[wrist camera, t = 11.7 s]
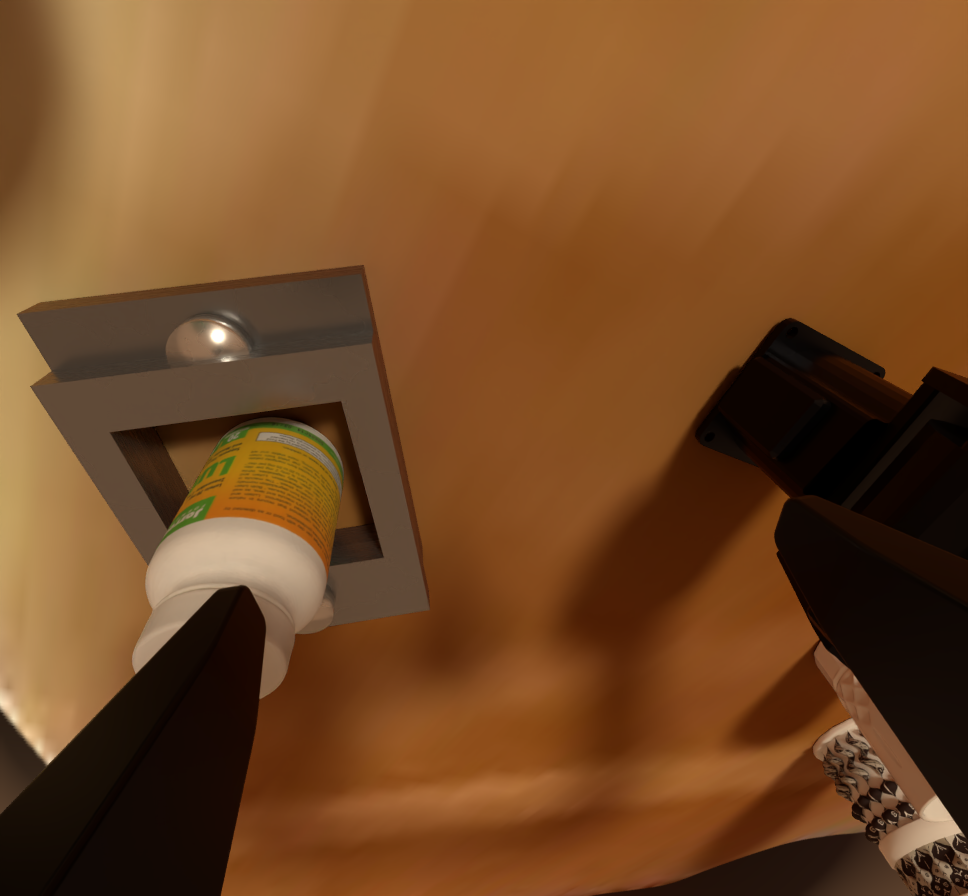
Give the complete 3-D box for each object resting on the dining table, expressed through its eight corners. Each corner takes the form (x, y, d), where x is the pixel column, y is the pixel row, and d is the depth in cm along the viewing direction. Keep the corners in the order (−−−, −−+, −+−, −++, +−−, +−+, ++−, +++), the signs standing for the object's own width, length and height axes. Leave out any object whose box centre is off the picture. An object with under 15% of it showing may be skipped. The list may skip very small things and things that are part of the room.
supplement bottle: (239, 391, 20) (126, 579, 12) (365, 445, 22) (344, 635, 14) (197, 488, 22) (78, 703, 14) (316, 528, 24) (272, 734, 16)
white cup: (911, 645, 38) (1052, 790, 30) (810, 684, 39) (918, 834, 31) (911, 588, 34) (1076, 739, 26) (798, 634, 35) (921, 792, 27)
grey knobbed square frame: (39, 302, 17) (-28, 336, 14) (363, 264, 18) (356, 290, 15) (217, 606, 26) (196, 662, 23) (427, 573, 27) (430, 623, 24)
